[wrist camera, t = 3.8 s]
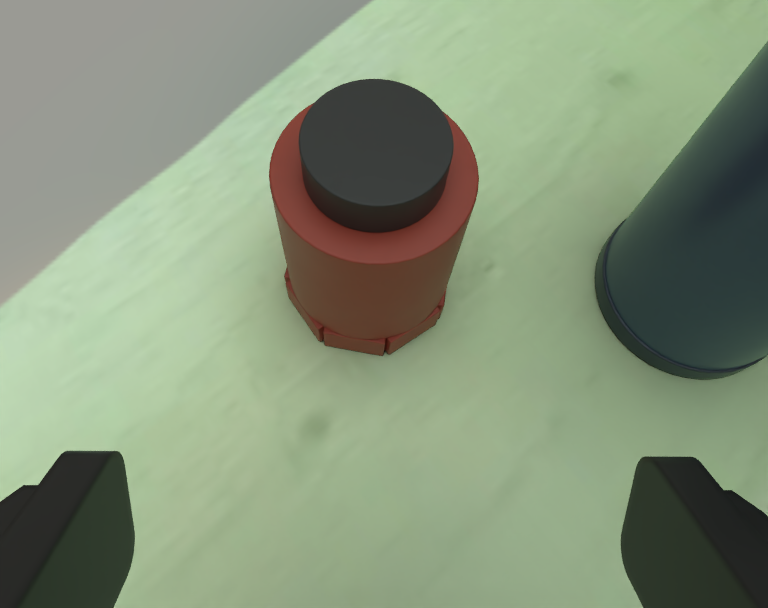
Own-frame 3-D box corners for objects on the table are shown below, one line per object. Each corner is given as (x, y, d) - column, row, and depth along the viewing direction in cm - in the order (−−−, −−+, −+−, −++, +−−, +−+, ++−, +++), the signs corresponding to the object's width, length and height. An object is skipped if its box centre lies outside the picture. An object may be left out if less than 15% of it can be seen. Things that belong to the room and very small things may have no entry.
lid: (386, 191, 28) (402, 22, 19) (474, 299, 26) (534, 166, 18) (263, 261, 27) (220, 111, 18) (347, 382, 25) (345, 282, 16)
